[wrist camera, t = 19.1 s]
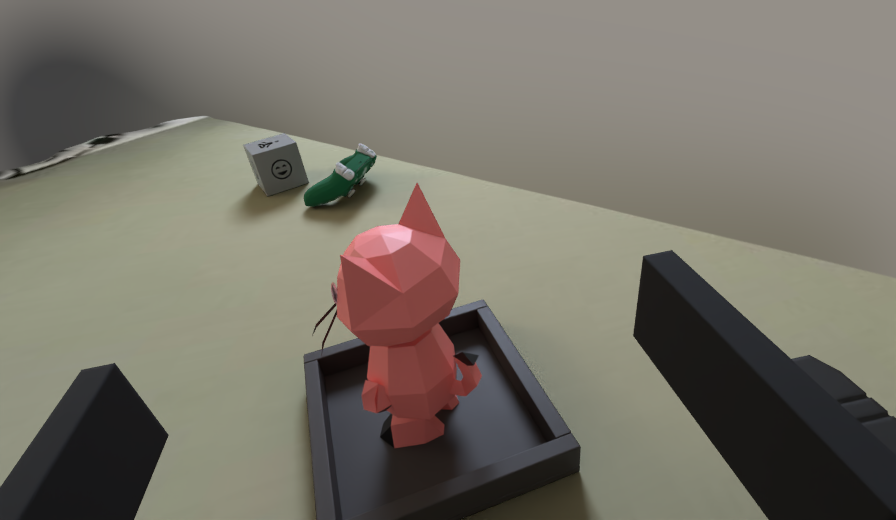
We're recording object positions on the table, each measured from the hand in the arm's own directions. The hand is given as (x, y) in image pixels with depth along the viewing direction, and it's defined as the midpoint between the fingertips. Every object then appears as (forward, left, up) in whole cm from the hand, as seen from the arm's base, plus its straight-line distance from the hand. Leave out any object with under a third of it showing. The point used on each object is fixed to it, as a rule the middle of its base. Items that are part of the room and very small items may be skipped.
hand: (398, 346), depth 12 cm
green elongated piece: (+41, -1, -13) cm, 42 cm away
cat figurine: (+8, -1, -12) cm, 14 cm away
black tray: (+8, -1, -12) cm, 15 cm away
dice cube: (+48, +6, -13) cm, 50 cm away
